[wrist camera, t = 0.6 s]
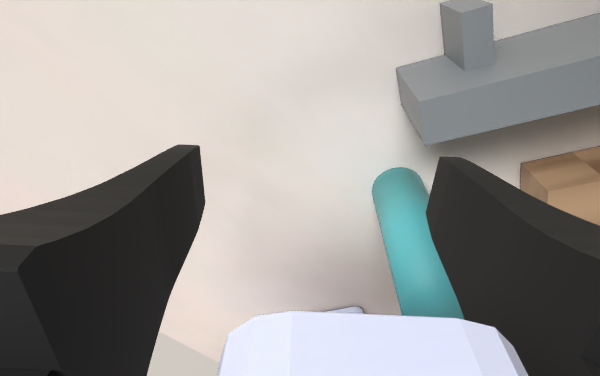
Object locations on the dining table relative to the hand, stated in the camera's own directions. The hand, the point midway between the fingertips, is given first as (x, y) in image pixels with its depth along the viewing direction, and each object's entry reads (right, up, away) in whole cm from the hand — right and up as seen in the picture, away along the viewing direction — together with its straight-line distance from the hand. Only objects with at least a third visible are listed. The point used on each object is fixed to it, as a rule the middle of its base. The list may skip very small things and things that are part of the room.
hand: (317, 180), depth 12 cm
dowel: (+5, 0, +12) cm, 13 cm away
